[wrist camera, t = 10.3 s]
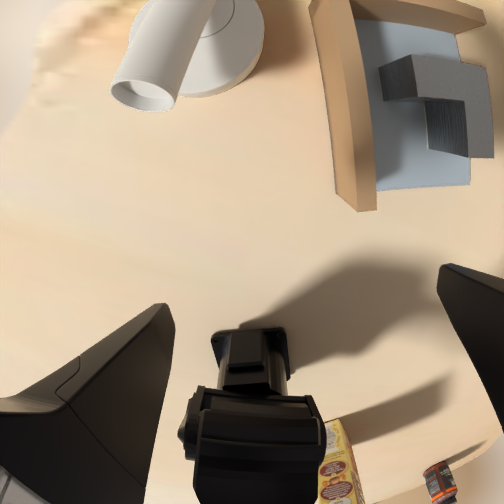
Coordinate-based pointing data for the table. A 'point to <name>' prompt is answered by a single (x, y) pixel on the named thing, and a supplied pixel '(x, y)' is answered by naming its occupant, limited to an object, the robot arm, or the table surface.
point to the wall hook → (187, 51)
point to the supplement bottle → (440, 484)
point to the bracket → (445, 101)
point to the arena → (370, 93)
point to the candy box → (338, 469)
